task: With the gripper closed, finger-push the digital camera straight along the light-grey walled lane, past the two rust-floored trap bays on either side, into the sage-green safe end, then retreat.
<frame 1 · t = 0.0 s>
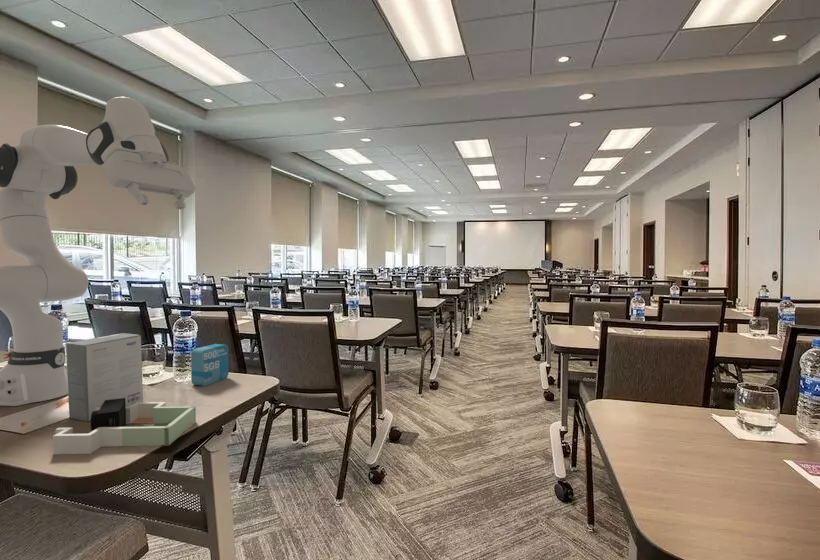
hand: (163, 206, 102), 54 cm above the table, tool tilted 30°, fingers open, 8 cm apart
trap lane: (131, 433, 102), on the table
digital camera: (109, 435, 101), on the table
data package: (210, 382, 145), on the table
hard drive box: (107, 411, 117), on the table
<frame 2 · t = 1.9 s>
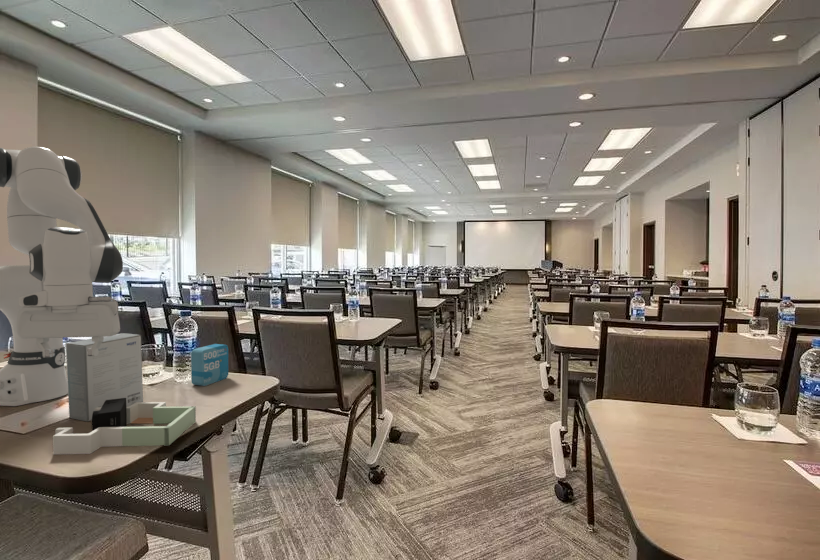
hand: (71, 356, 99), 19 cm above the table, tool pointing down, fingers open, 8 cm apart
nothing on the table moved.
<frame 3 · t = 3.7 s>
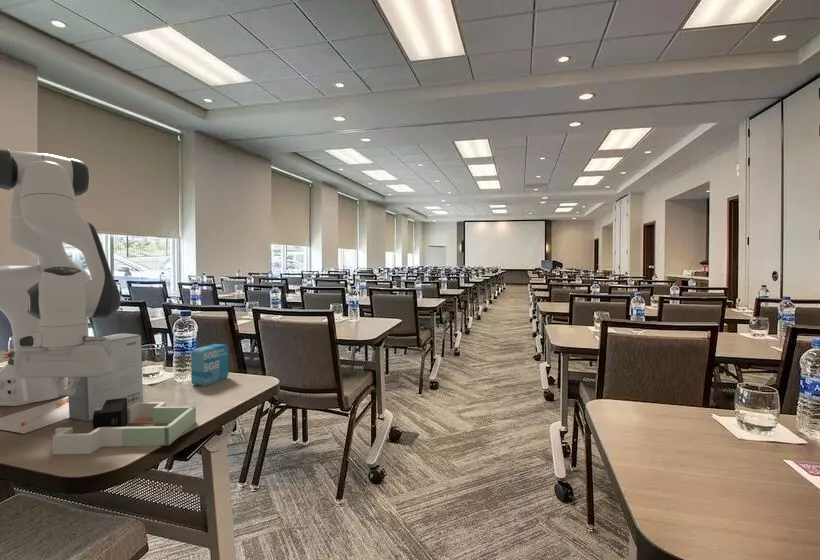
hand: (66, 395, 100), 9 cm above the table, tool pointing down, fingers closed
nothing on the table moved.
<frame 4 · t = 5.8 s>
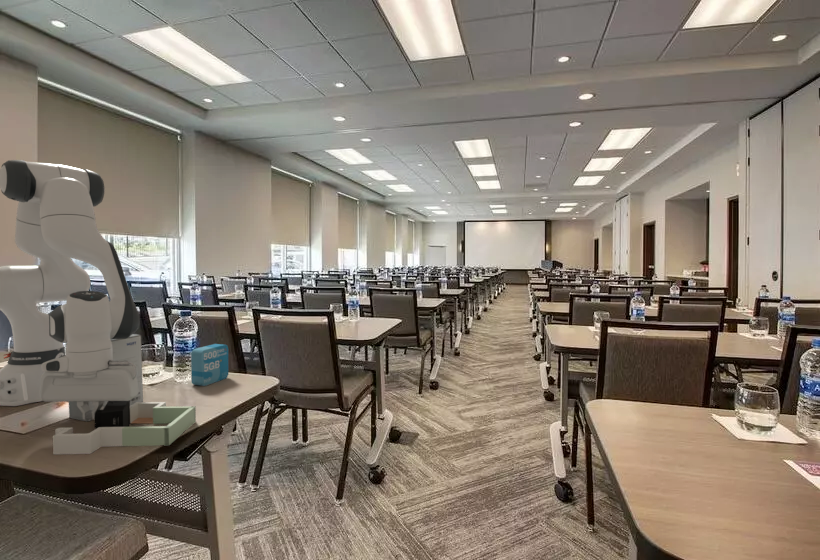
hand: (91, 418, 101), 4 cm above the table, tool pointing down, fingers closed
digital camera: (113, 434, 102), on the table, touching gripper
everything else where it was.
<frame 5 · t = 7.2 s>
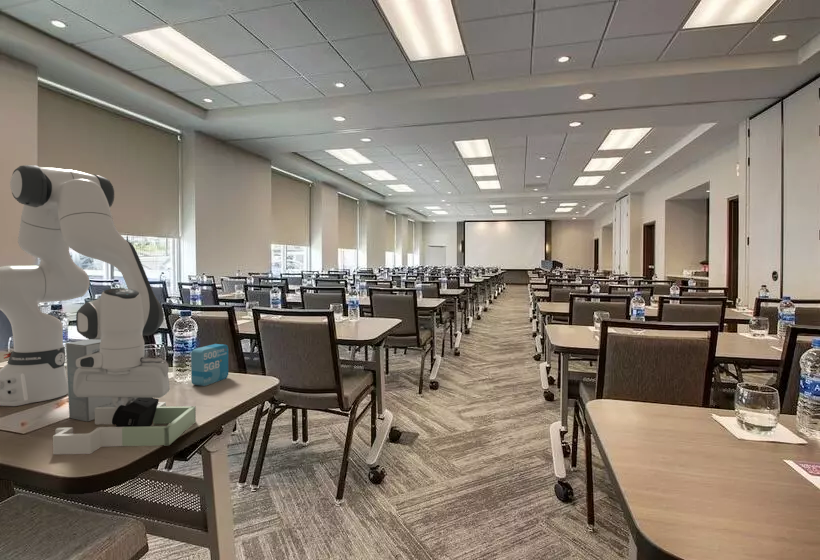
hand: (123, 414, 102), 4 cm above the table, tool pointing down, fingers closed, pressing on digital camera
digital camera: (130, 432, 102), on the table, touching gripper
everything else where it was.
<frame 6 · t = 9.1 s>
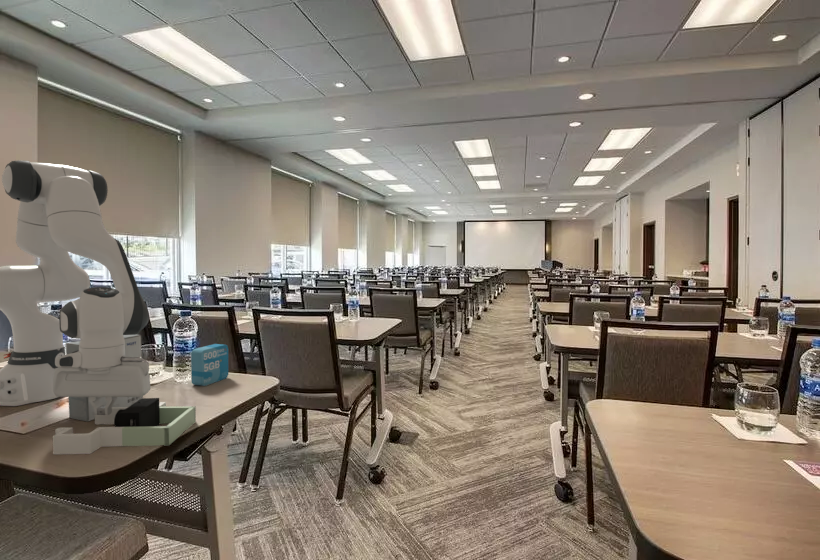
hand: (103, 414, 101), 5 cm above the table, tool pointing down, fingers closed
digital camera: (138, 434, 102), on the table
everything else where it was.
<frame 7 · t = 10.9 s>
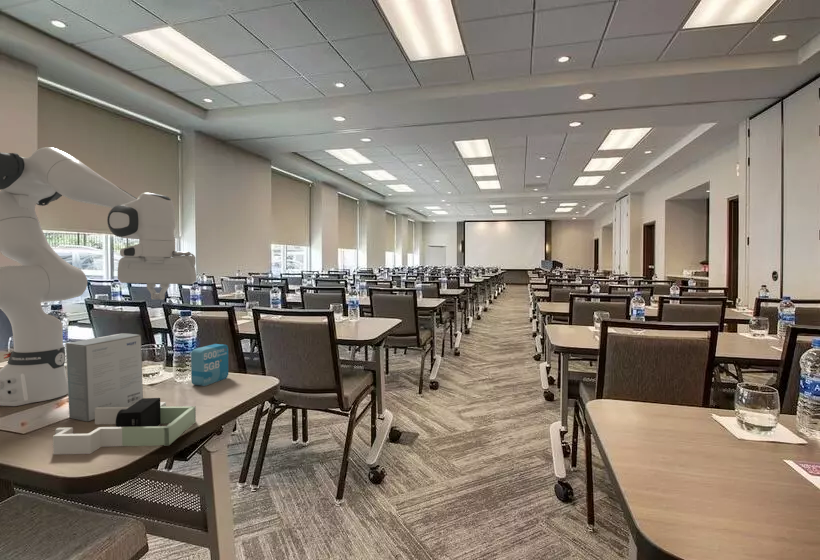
hand: (157, 299, 122), 30 cm above the table, tool pointing down, fingers closed
nothing on the table moved.
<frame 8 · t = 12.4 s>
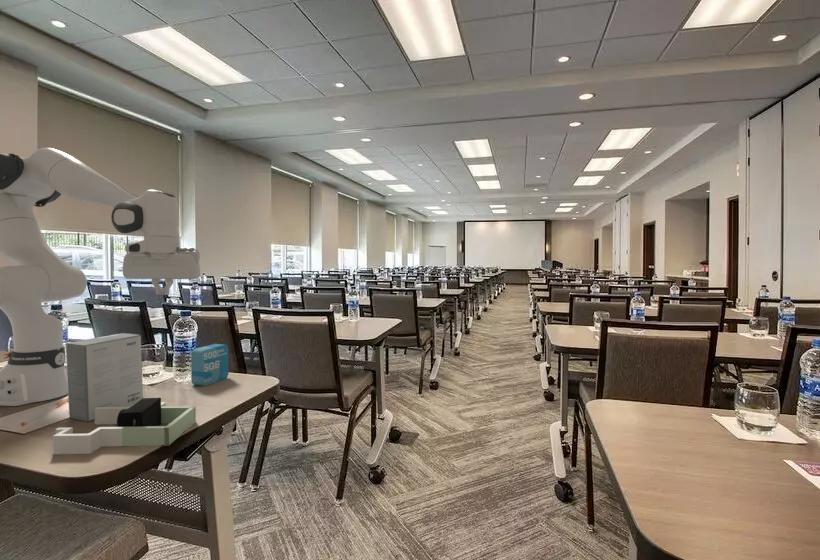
hand: (162, 294, 124), 31 cm above the table, tool pointing down, fingers closed
nothing on the table moved.
at the end: digital camera inside the target area (4.6 cm from its centre), on the table; digital camera moved 6.9 cm from its start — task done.
